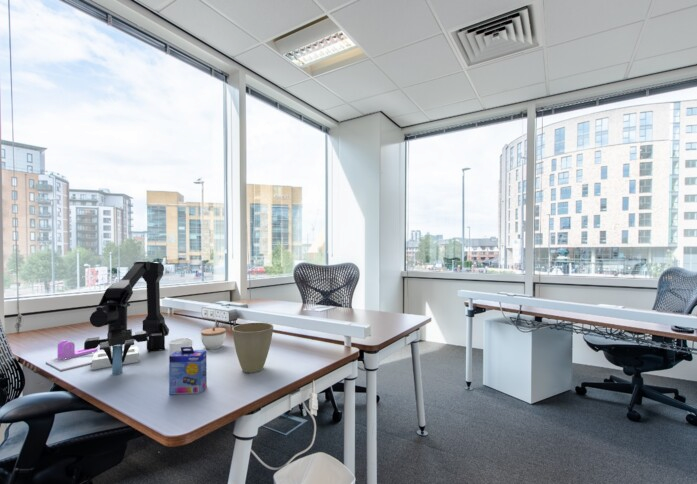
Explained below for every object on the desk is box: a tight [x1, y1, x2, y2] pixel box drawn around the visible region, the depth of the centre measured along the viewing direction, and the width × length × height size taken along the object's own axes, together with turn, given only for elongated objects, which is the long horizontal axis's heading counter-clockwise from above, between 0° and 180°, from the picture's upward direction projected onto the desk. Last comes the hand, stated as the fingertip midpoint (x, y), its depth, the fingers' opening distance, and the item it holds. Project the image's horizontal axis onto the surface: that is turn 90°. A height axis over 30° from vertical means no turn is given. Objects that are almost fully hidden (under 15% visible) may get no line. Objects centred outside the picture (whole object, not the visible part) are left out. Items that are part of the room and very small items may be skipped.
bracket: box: [56, 339, 98, 360], centre depth 140 cm, size 13×6×7 cm, turn 151°
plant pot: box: [231, 322, 274, 374], centre depth 121 cm, size 15×15×16 cm
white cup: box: [168, 337, 193, 356], centre depth 124 cm, size 8×8×10 cm
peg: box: [111, 344, 124, 375], centre depth 118 cm, size 3×3×10 cm
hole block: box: [91, 345, 140, 371], centre depth 130 cm, size 15×11×4 cm
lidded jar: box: [200, 326, 227, 350], centre depth 149 cm, size 11×11×9 cm
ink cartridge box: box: [168, 346, 208, 395], centre depth 103 cm, size 10×6×14 cm, turn 95°
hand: (117, 363), depth 118 cm, fingers closed on peg, 3 cm apart
